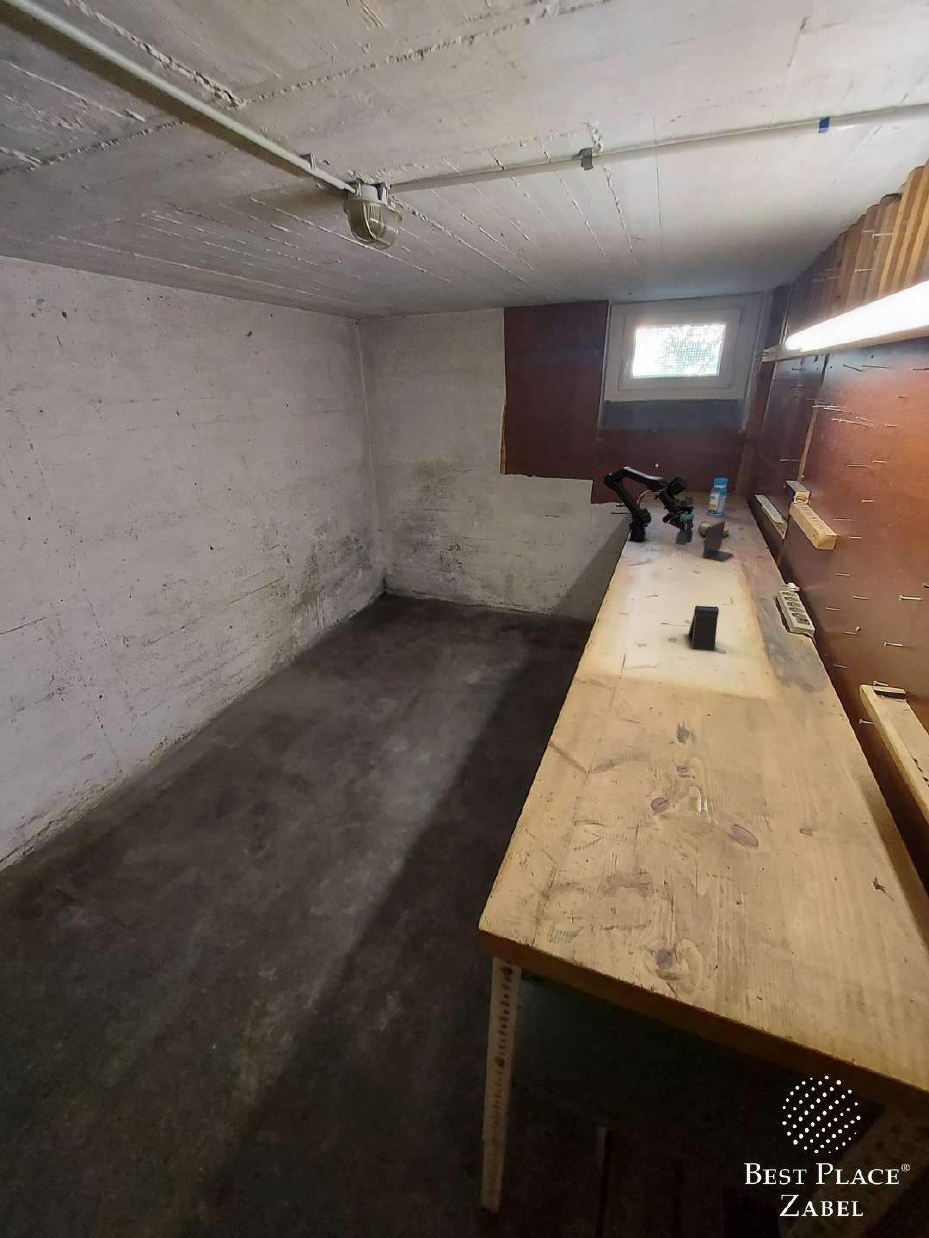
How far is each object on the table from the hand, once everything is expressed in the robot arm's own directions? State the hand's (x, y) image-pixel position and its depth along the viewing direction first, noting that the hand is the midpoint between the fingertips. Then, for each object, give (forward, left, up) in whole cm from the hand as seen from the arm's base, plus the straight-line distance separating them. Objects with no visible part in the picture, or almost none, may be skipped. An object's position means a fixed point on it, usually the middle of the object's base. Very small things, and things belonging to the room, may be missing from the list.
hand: (688, 529), depth 221 cm
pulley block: (+3, +27, -10) cm, 30 cm away
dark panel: (+12, -1, -10) cm, 16 cm away
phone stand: (+36, -86, -10) cm, 93 cm away
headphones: (-1, 0, -7) cm, 7 cm away
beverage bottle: (-10, +74, -10) cm, 76 cm away
